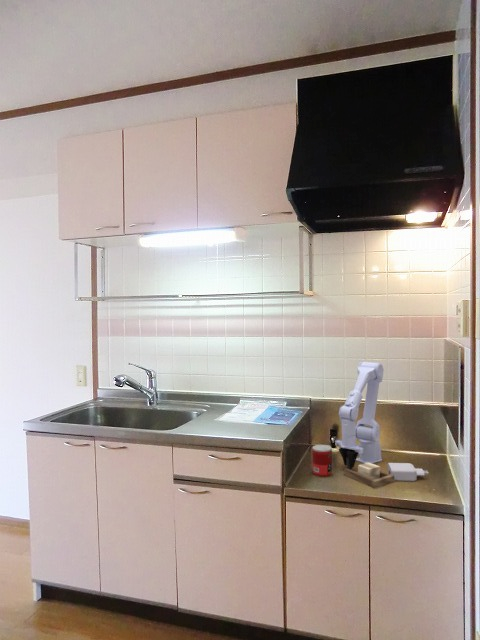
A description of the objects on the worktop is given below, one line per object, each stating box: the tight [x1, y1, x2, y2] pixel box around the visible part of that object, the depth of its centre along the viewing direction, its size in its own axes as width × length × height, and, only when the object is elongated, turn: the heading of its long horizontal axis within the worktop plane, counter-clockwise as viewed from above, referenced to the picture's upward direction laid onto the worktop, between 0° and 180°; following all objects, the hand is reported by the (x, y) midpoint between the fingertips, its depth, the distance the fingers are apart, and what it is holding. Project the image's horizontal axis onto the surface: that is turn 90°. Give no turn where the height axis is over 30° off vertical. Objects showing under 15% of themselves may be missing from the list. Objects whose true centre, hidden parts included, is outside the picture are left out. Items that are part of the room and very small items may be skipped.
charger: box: [387, 462, 429, 482], centre depth 189 cm, size 5×9×15 cm
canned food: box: [311, 444, 333, 478], centre depth 195 cm, size 8×8×11 cm
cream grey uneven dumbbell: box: [345, 456, 381, 480], centre depth 193 cm, size 6×15×6 cm, turn 31°
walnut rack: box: [343, 463, 395, 489], centre depth 189 cm, size 11×17×2 cm, turn 31°
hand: (349, 466), depth 198 cm, fingers closed on cream grey uneven dumbbell, 2 cm apart
